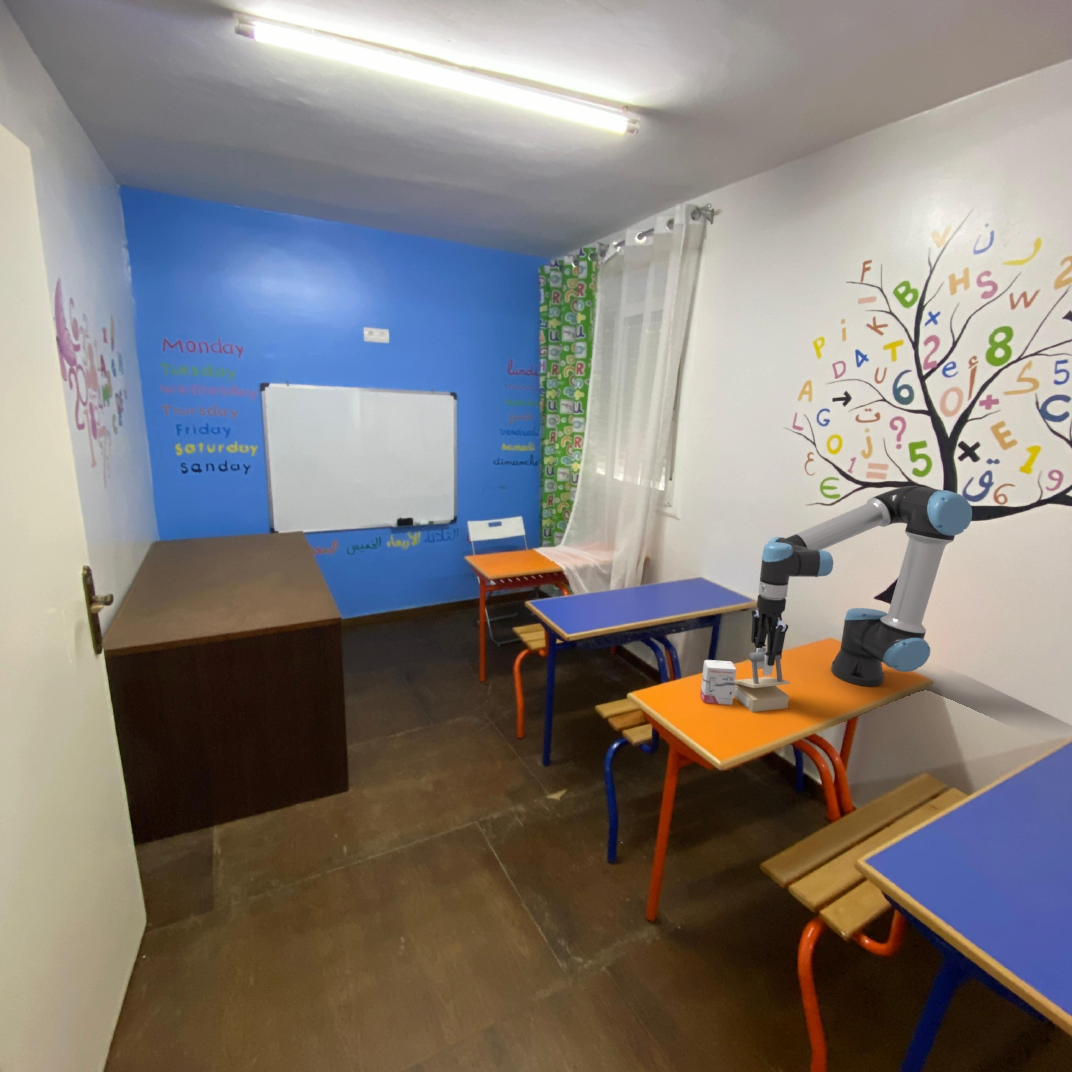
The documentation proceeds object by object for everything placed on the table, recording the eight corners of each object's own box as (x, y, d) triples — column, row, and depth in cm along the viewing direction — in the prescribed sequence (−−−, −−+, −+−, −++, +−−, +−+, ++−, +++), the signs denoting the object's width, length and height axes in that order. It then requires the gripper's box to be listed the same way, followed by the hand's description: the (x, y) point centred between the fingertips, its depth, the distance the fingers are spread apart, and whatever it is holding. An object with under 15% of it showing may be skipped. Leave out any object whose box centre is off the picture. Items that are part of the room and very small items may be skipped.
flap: (767, 679, 166) (764, 647, 167) (789, 684, 156) (785, 650, 157) (733, 683, 163) (730, 650, 164) (753, 687, 153) (750, 653, 155)
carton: (765, 690, 167) (767, 679, 166) (787, 707, 158) (789, 695, 157) (731, 694, 164) (732, 683, 163) (751, 712, 155) (752, 700, 154)
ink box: (703, 703, 159) (706, 667, 156) (699, 695, 164) (703, 659, 161) (732, 705, 158) (737, 668, 156) (728, 696, 163) (732, 661, 160)
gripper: (743, 588, 160) (735, 660, 165) (779, 606, 145) (770, 685, 150) (765, 586, 162) (756, 658, 167) (803, 604, 147) (792, 683, 152)
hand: (763, 671), depth 159 cm, fingers open, 3 cm apart
